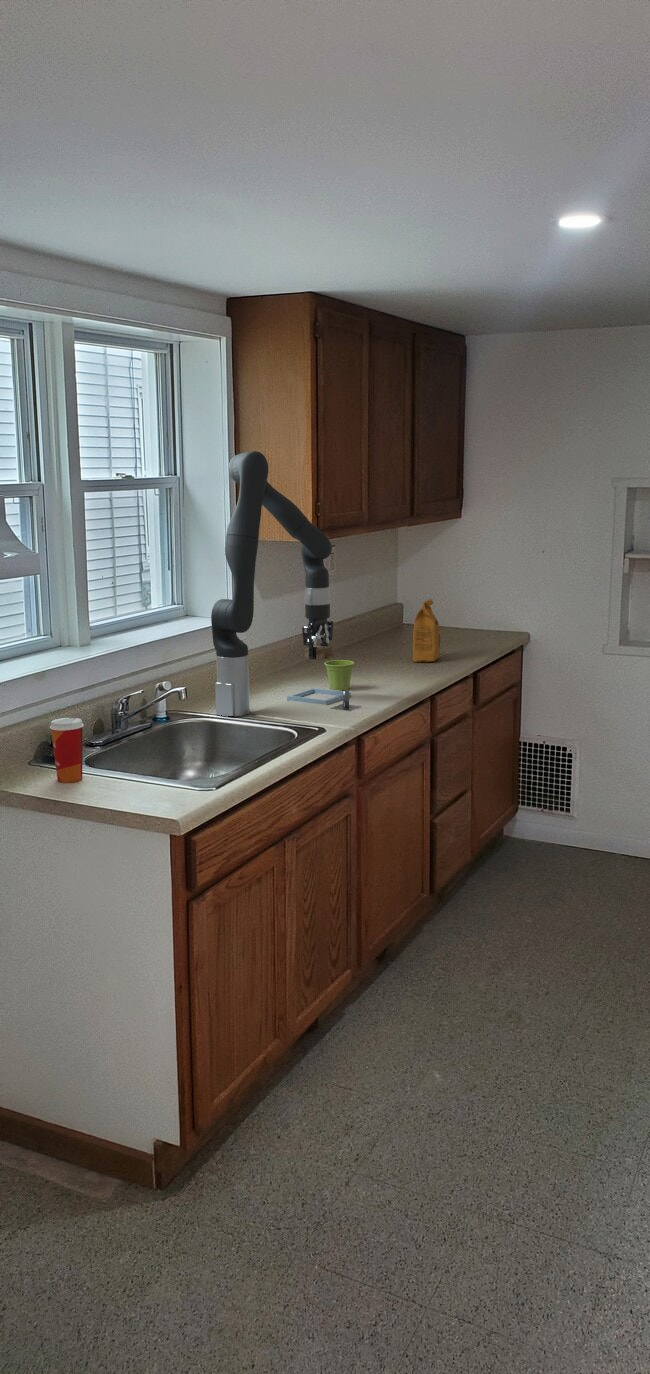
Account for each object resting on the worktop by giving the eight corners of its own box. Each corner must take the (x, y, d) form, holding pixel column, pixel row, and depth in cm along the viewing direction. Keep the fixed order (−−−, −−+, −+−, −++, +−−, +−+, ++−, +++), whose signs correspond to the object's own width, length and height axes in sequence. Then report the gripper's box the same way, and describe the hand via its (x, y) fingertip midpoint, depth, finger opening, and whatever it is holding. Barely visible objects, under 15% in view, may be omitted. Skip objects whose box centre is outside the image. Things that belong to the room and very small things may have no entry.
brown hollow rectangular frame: (304, 658, 333) (304, 648, 333) (315, 655, 338) (315, 645, 337) (327, 660, 329) (326, 650, 328) (337, 657, 334) (337, 647, 333)
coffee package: (444, 658, 407) (444, 598, 402) (435, 664, 395) (436, 603, 391) (418, 657, 410) (418, 598, 406) (409, 662, 399) (409, 602, 394)
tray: (326, 707, 327) (326, 700, 327) (287, 702, 335) (287, 696, 334) (350, 698, 339) (350, 692, 338) (312, 694, 346) (312, 688, 346)
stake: (350, 713, 319) (349, 693, 317) (329, 710, 322) (329, 691, 321) (362, 709, 324) (362, 689, 323) (342, 706, 328) (342, 687, 327)
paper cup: (63, 774, 260) (60, 716, 257) (92, 776, 258) (89, 717, 255) (46, 783, 253) (42, 723, 250) (76, 785, 250) (72, 725, 248)
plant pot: (348, 693, 348) (348, 665, 346) (320, 691, 351) (320, 664, 349) (358, 687, 356) (357, 660, 354) (330, 685, 359) (330, 659, 358)
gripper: (320, 598, 338) (321, 652, 342) (293, 604, 327) (294, 660, 330) (340, 600, 334) (341, 654, 338) (314, 605, 323) (315, 662, 326)
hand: (318, 657), depth 334 cm, fingers closed on brown hollow rectangular frame, 6 cm apart
